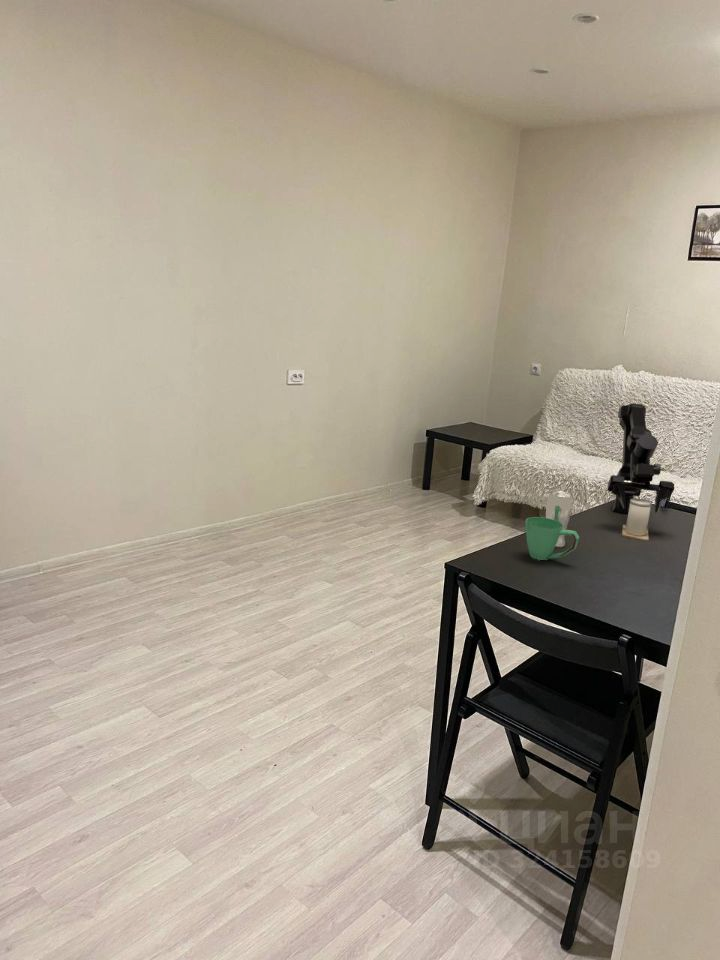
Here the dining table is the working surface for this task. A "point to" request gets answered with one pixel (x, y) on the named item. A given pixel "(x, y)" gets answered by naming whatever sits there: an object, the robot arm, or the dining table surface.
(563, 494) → the beer glass
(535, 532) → the mug
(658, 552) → the dining table surface
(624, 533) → the mat
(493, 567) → the dining table surface
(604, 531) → the dining table surface
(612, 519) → the dining table surface
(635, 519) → the white lidded jar
